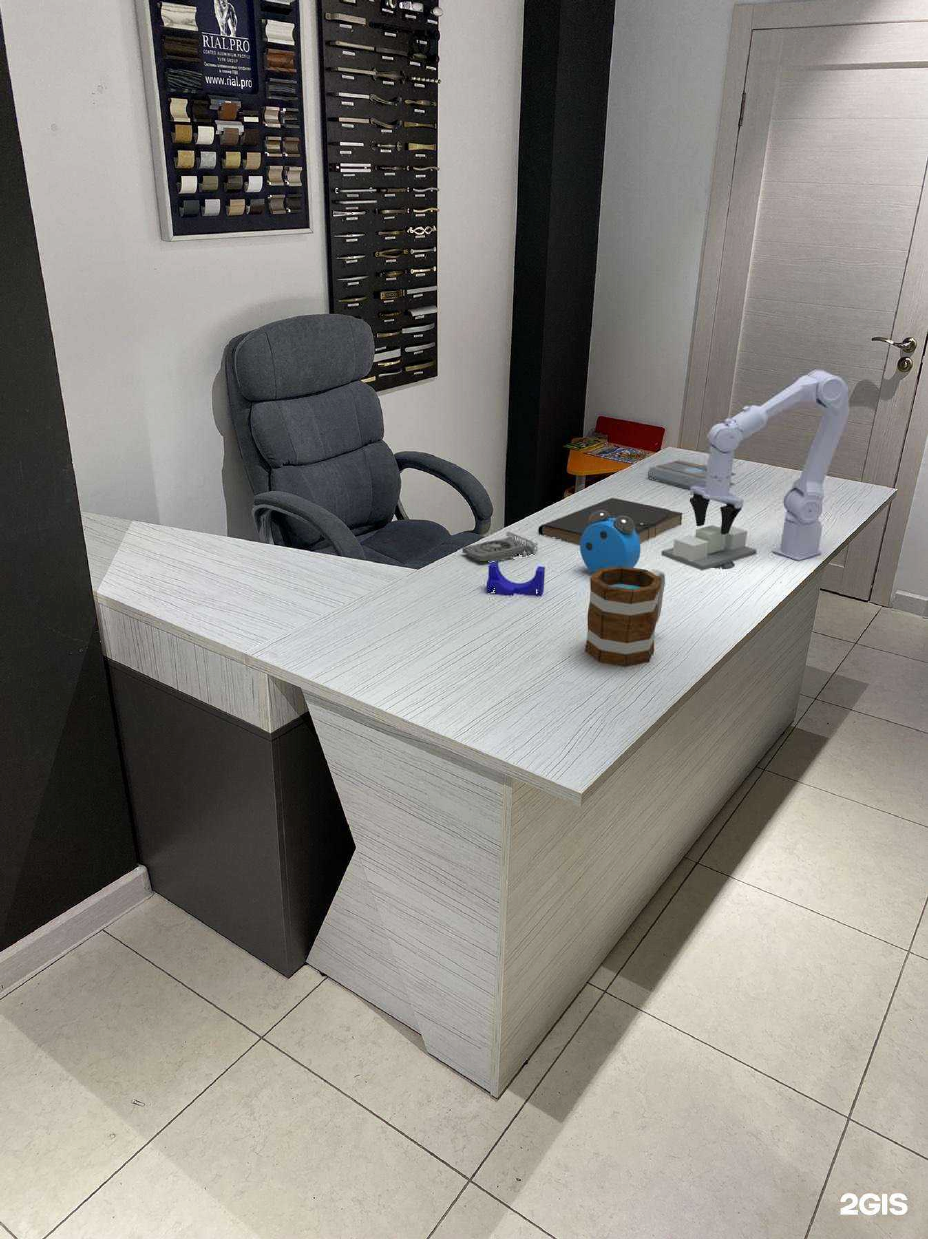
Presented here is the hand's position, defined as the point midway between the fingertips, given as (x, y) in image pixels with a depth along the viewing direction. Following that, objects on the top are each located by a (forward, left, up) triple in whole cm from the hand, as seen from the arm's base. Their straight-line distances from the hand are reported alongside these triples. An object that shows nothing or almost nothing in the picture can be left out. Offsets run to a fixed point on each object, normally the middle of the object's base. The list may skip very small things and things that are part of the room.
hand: (712, 529), depth 233 cm
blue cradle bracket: (+55, -8, -7) cm, 56 cm away
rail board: (0, 0, -6) cm, 6 cm away
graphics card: (+43, -31, -7) cm, 53 cm away
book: (-48, -47, -7) cm, 68 cm away
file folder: (+6, -28, -7) cm, 29 cm away
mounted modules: (0, 0, -6) cm, 6 cm away
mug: (+55, +26, -7) cm, 61 cm away
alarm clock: (+31, -4, -7) cm, 32 cm away
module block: (0, 0, -5) cm, 5 cm away
